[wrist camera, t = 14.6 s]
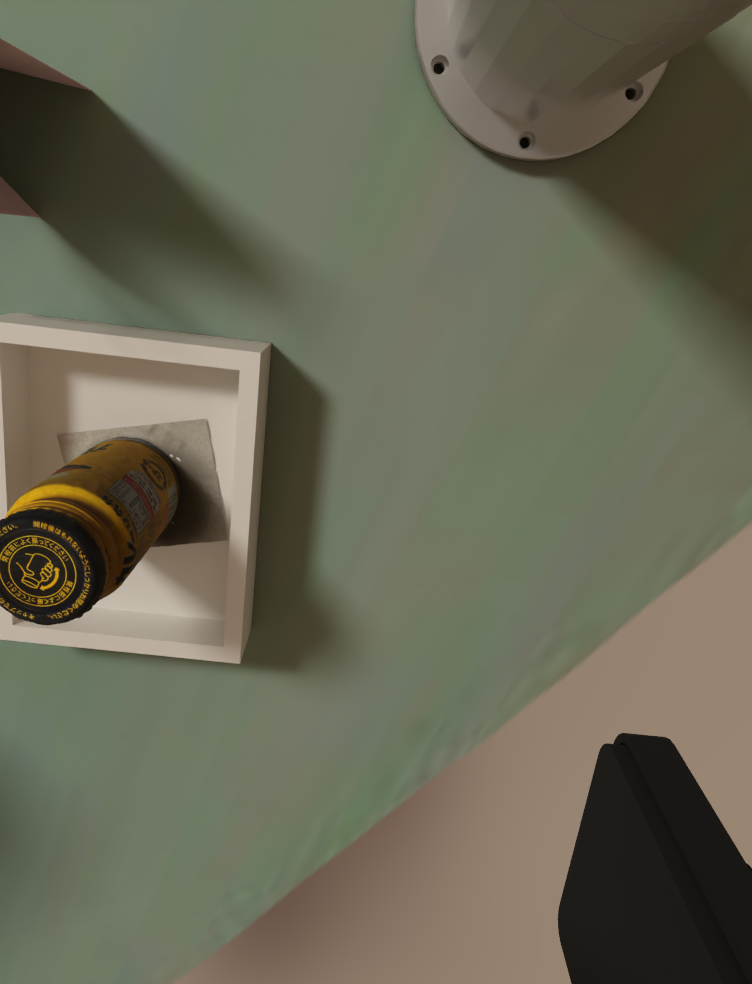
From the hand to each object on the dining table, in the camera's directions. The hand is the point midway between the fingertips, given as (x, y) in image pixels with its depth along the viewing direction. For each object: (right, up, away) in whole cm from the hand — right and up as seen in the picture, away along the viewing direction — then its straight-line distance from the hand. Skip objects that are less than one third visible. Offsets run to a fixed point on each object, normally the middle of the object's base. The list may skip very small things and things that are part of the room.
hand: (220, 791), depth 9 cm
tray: (-12, +4, +34) cm, 36 cm away
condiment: (-11, +4, +33) cm, 35 cm away
